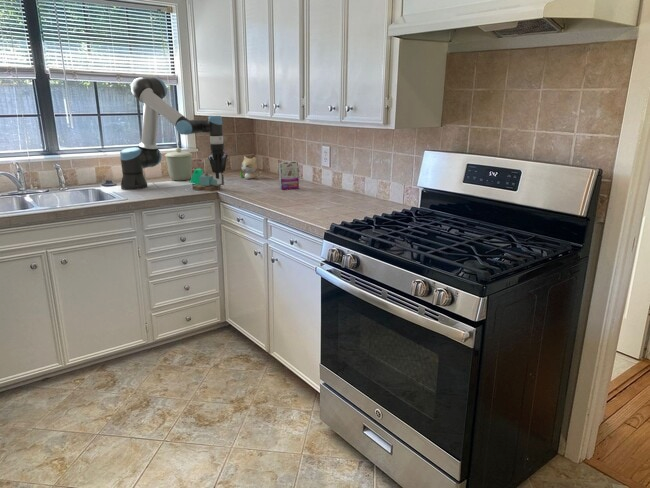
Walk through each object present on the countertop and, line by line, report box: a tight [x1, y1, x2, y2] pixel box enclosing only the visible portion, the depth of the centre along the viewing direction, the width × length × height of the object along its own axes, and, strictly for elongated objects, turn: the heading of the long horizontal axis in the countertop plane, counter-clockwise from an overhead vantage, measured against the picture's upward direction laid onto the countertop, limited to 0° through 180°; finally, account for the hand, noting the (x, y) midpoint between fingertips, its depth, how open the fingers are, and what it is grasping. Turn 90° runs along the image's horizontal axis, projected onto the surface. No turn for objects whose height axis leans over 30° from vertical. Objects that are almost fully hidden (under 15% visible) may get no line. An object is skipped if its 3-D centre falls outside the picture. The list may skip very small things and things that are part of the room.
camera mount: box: [189, 168, 204, 186], centre depth 305 cm, size 12×8×10 cm, turn 60°
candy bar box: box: [278, 160, 300, 191], centre depth 292 cm, size 11×5×16 cm, turn 112°
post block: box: [192, 171, 222, 192], centre depth 291 cm, size 14×10×10 cm
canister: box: [164, 147, 194, 182], centre depth 319 cm, size 18×18×21 cm
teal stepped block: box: [199, 173, 225, 186], centre depth 290 cm, size 6×14×6 cm, turn 77°
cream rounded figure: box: [239, 155, 262, 180], centre depth 325 cm, size 15×10×15 cm
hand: (219, 183), depth 285 cm, fingers closed
